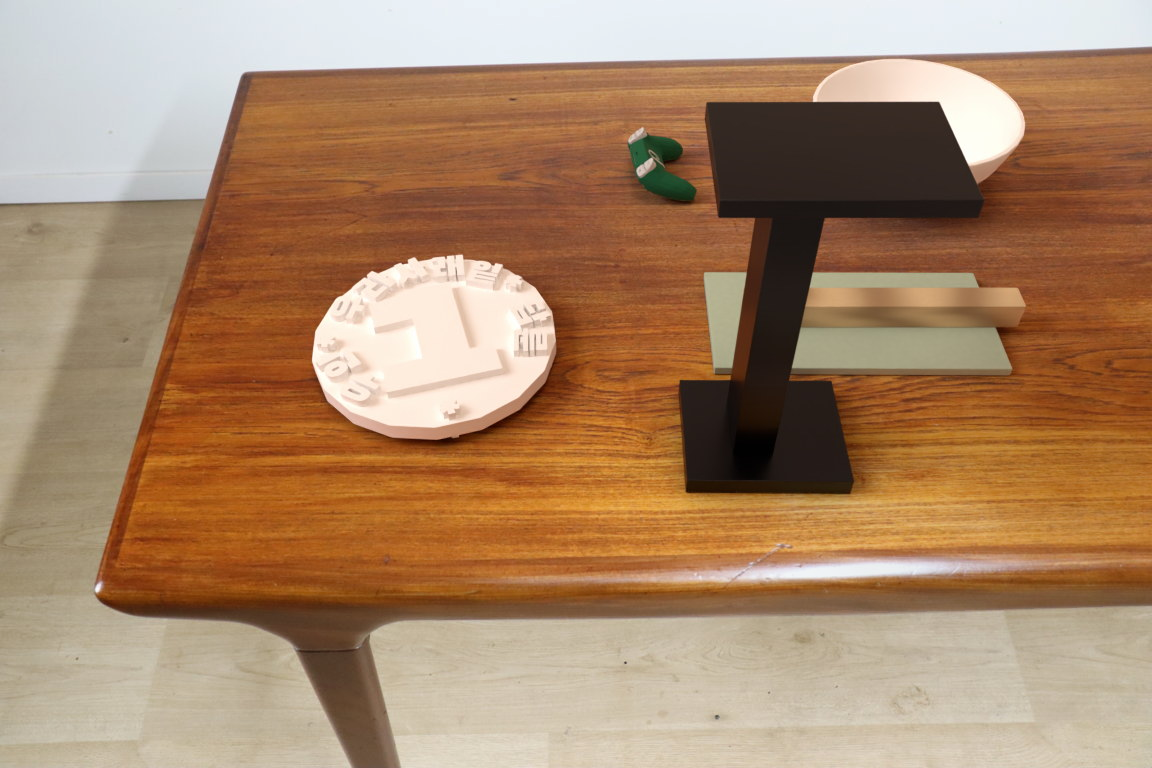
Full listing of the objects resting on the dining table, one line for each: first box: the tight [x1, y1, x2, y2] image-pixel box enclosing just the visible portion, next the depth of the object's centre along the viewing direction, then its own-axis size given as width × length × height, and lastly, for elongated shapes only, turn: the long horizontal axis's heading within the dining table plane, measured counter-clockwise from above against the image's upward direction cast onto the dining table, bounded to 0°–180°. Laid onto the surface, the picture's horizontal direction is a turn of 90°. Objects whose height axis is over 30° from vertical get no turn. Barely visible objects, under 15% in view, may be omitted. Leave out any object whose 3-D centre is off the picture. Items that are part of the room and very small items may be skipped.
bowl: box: [812, 58, 1026, 186], centre depth 92 cm, size 20×19×8 cm
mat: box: [703, 271, 1013, 376], centre depth 81 cm, size 24×12×1 cm, turn 89°
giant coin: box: [311, 254, 557, 441], centre depth 78 cm, size 20×20×3 cm
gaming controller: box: [627, 126, 698, 202], centre depth 95 cm, size 9×4×6 cm
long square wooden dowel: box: [741, 287, 1027, 328], centre depth 79 cm, size 23×2×5 cm, turn 89°
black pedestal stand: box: [677, 101, 986, 495], centre depth 63 cm, size 14×10×26 cm
